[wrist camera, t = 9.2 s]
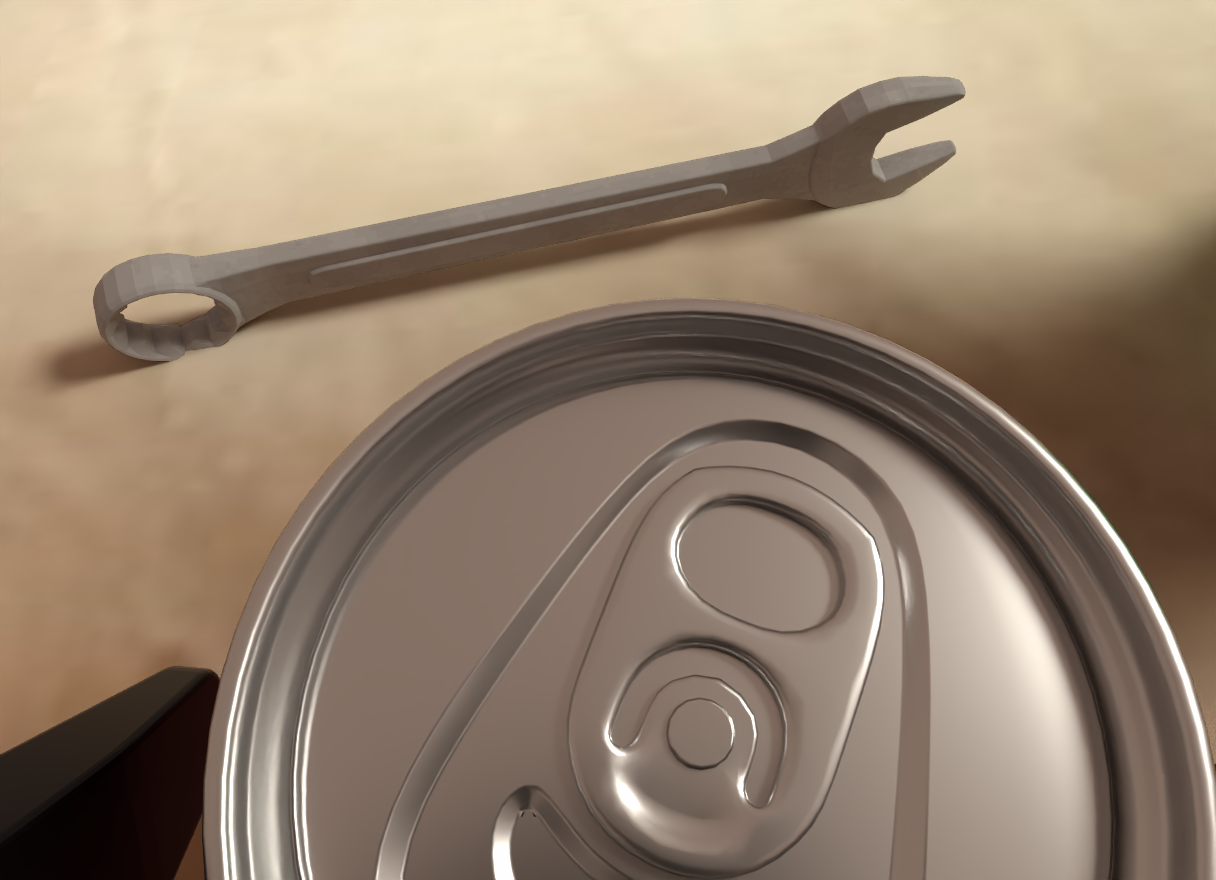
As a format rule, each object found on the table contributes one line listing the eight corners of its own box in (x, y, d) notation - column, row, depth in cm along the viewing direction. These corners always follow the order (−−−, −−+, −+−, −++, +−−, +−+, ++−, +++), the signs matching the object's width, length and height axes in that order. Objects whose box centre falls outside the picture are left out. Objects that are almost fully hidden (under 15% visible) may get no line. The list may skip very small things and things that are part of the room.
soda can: (387, 885, 15) (-223, 1139, 4) (544, 539, 18) (436, 100, 6) (752, 1062, 14) (1283, 2045, 3) (867, 671, 17) (1401, 422, 5)
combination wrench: (49, 304, 17) (1011, 101, 18) (49, 250, 17) (987, 55, 19) (147, 385, 20) (949, 210, 22) (145, 337, 21) (930, 169, 22)
